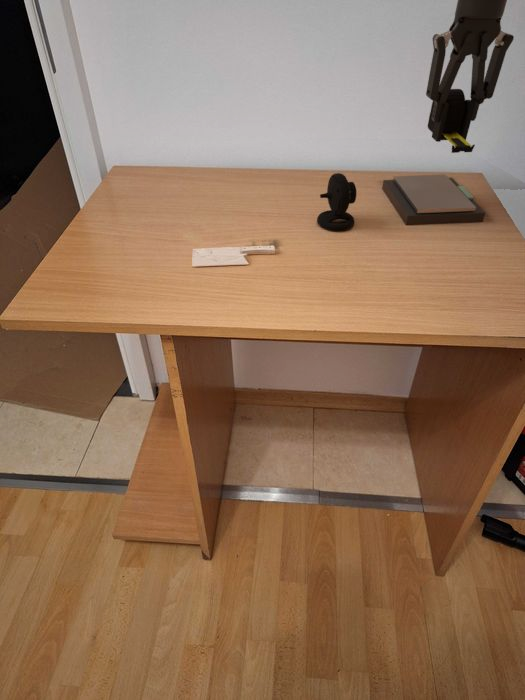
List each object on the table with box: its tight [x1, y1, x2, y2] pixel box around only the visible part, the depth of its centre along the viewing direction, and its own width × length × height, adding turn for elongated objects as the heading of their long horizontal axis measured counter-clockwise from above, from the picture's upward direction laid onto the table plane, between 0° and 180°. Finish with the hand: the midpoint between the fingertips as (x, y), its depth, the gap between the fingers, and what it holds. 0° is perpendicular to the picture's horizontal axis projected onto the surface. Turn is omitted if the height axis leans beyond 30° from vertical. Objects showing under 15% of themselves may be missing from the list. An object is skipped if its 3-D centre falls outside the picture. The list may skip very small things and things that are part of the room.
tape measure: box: [427, 88, 475, 154], centre depth 91 cm, size 15×4×8 cm, turn 3°
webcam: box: [316, 172, 357, 232], centre depth 95 cm, size 8×8×10 cm
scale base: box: [381, 177, 486, 226], centre depth 104 cm, size 16×18×3 cm
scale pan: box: [392, 174, 476, 213], centre depth 103 cm, size 12×17×1 cm
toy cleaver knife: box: [191, 245, 276, 268], centre depth 87 cm, size 5×15×1 cm, turn 94°
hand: (448, 138), depth 93 cm, fingers closed on tape measure, 4 cm apart
